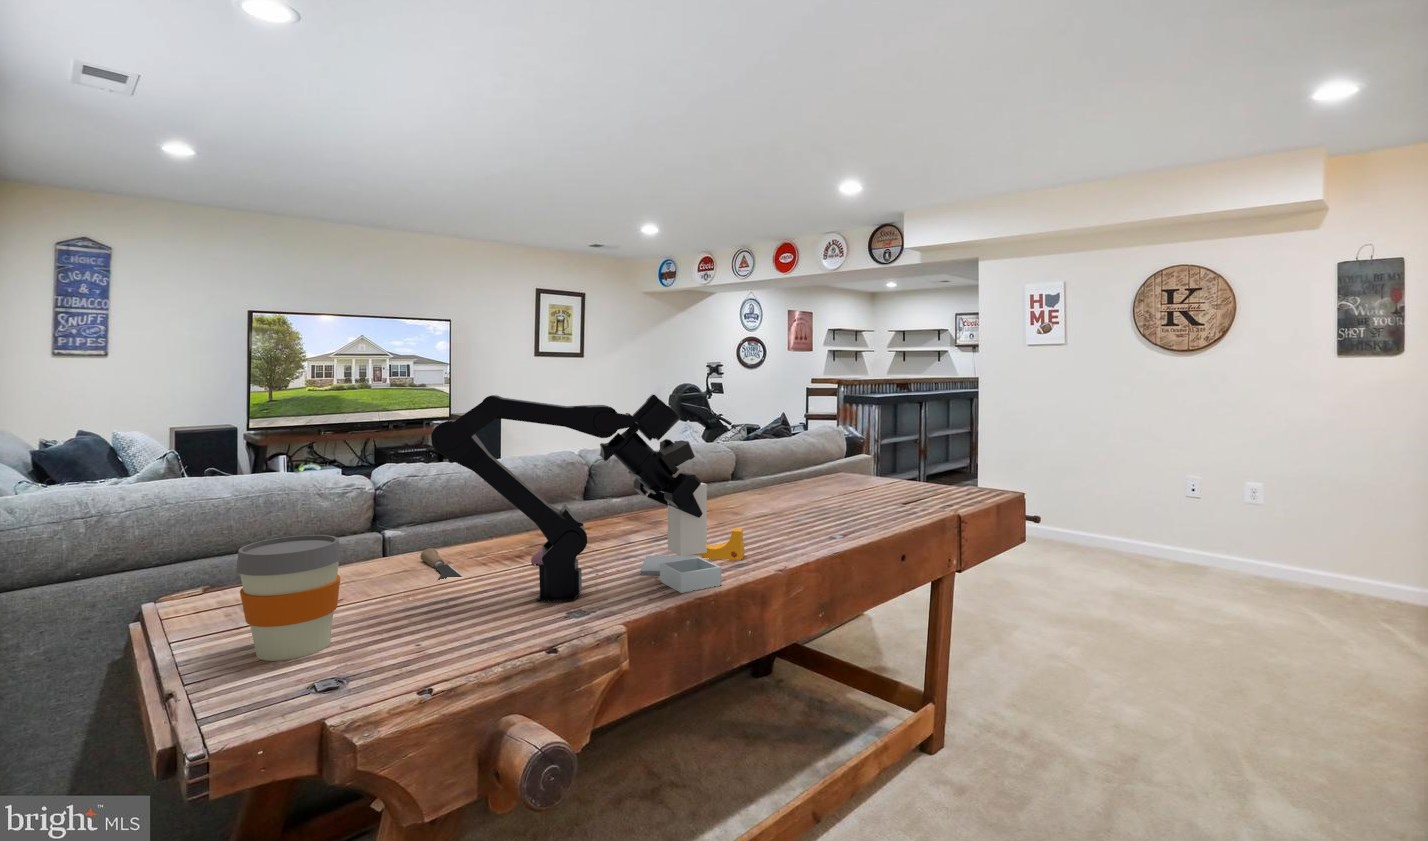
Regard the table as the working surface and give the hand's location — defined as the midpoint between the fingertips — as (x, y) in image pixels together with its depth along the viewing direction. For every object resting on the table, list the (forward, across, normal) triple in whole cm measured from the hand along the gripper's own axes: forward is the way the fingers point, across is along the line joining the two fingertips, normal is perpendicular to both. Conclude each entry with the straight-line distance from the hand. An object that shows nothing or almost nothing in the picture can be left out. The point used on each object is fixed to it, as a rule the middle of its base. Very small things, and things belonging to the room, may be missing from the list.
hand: (693, 513), depth 125 cm
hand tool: (-19, +30, +39) cm, 53 cm away
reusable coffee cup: (-36, 0, +55) cm, 66 cm away
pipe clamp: (+18, +13, +1) cm, 22 cm away
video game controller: (-4, +30, +23) cm, 38 cm away
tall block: (+4, 0, +6) cm, 7 cm away
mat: (+10, +11, +9) cm, 17 cm away
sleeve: (+8, -2, +10) cm, 13 cm away
